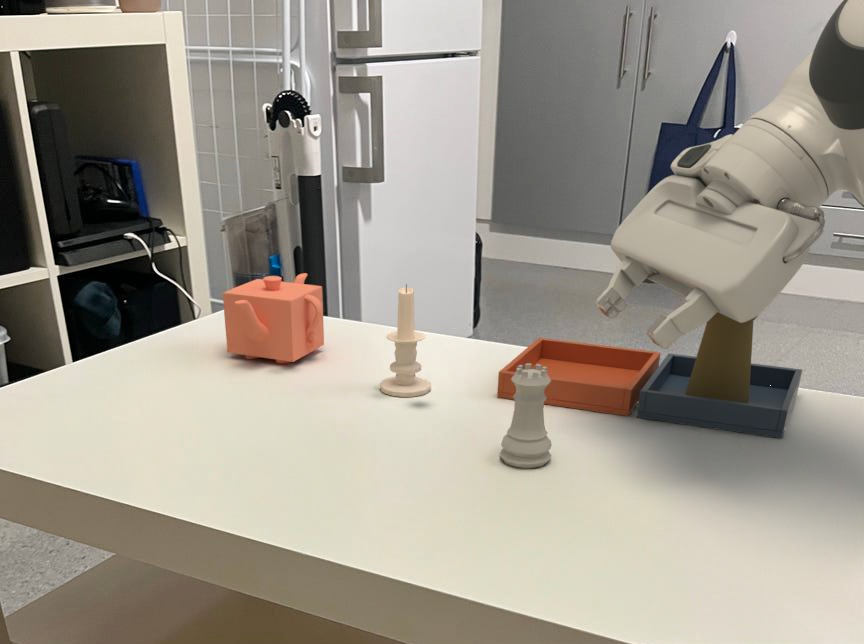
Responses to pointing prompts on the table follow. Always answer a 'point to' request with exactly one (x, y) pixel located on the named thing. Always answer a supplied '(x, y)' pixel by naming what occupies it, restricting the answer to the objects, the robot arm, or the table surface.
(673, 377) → the slate tray
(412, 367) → the candle
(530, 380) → the rook chess piece
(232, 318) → the teapot
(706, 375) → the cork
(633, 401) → the terracotta tray
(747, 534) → the table surface
